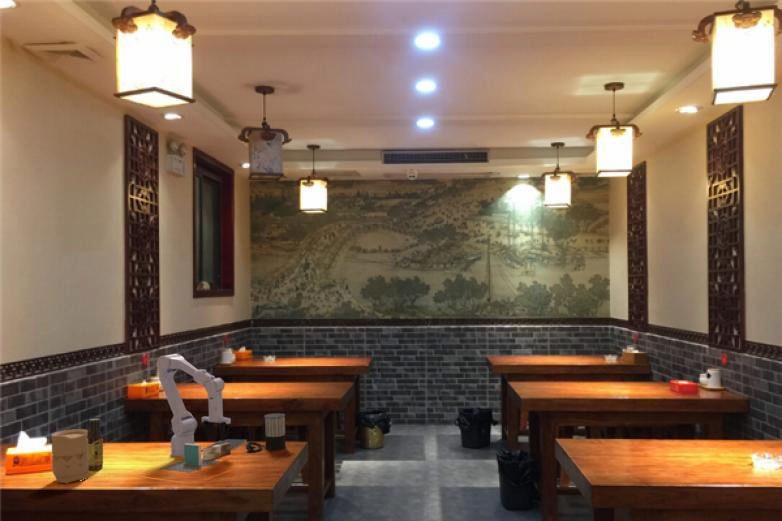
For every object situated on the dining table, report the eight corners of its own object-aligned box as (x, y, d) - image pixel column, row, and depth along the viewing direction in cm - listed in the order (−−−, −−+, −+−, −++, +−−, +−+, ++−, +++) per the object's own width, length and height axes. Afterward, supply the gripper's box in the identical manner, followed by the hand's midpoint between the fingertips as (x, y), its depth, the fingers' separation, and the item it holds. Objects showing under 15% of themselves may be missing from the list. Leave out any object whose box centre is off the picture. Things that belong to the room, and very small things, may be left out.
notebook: (222, 442, 324) (200, 453, 303) (222, 439, 324) (200, 450, 303) (247, 442, 321) (227, 454, 300) (247, 439, 321) (227, 450, 300)
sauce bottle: (97, 470, 278) (95, 421, 279) (83, 470, 280) (82, 421, 280) (106, 466, 285) (105, 417, 285) (93, 466, 286) (92, 417, 287)
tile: (186, 462, 283) (186, 443, 284) (201, 464, 280) (200, 444, 280) (184, 463, 282) (183, 444, 282) (198, 465, 278) (198, 445, 278)
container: (95, 477, 269) (94, 430, 269) (65, 486, 258) (64, 437, 259) (75, 473, 275) (74, 428, 276) (45, 482, 264) (44, 434, 265)
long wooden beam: (226, 453, 300) (226, 442, 300) (230, 453, 299) (230, 443, 299) (202, 459, 288) (202, 448, 288) (207, 460, 286) (207, 449, 287)
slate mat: (159, 470, 276) (159, 468, 276) (192, 459, 292) (192, 457, 292) (189, 474, 268) (189, 472, 268) (221, 462, 284) (221, 461, 284)
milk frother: (290, 447, 306) (289, 414, 306) (265, 456, 293) (264, 420, 293) (267, 444, 314) (266, 411, 314) (241, 452, 301) (240, 418, 301)
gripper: (196, 408, 294) (197, 440, 293) (222, 410, 287) (223, 443, 286) (207, 405, 300) (208, 437, 300) (233, 407, 293) (234, 439, 293)
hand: (216, 439), depth 293 cm, fingers open, 7 cm apart
